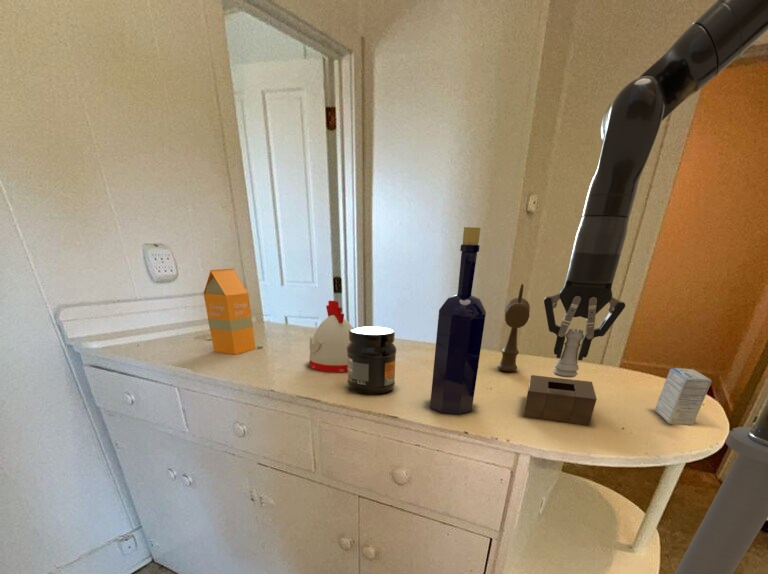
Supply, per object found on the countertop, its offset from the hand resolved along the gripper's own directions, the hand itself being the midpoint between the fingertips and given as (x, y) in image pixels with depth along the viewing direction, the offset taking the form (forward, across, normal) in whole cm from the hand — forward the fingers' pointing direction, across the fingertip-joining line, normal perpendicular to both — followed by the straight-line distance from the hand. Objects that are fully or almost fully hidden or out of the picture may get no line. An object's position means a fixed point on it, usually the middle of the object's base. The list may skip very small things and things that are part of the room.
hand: (569, 357), depth 80 cm
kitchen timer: (+10, -54, +14) cm, 57 cm away
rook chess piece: (+3, 0, 0) cm, 3 cm away
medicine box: (+11, +22, +5) cm, 25 cm away
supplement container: (+10, -39, -1) cm, 40 cm away
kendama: (+10, -12, +28) cm, 32 cm away
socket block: (+10, 0, 0) cm, 10 cm away
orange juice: (+10, -87, +17) cm, 89 cm away
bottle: (+10, -20, -6) cm, 23 cm away
